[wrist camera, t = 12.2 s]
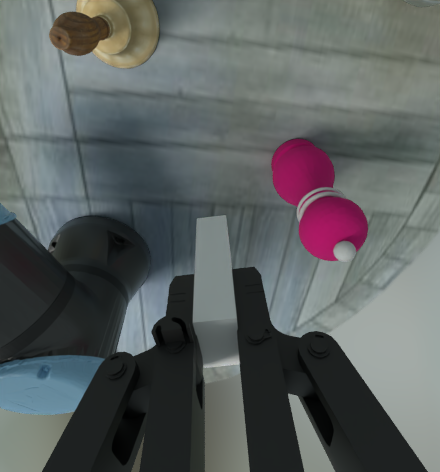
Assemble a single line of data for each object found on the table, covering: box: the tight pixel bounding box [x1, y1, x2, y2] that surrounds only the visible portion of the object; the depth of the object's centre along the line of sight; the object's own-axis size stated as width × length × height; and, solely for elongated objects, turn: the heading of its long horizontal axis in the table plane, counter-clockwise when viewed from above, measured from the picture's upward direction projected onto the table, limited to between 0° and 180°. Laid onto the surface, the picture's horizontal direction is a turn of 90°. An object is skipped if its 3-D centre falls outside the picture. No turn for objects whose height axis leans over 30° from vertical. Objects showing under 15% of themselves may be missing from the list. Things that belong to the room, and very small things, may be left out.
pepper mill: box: [271, 139, 368, 262], centre depth 34 cm, size 7×7×20 cm
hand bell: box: [49, 0, 159, 69], centre depth 26 cm, size 8×8×16 cm
